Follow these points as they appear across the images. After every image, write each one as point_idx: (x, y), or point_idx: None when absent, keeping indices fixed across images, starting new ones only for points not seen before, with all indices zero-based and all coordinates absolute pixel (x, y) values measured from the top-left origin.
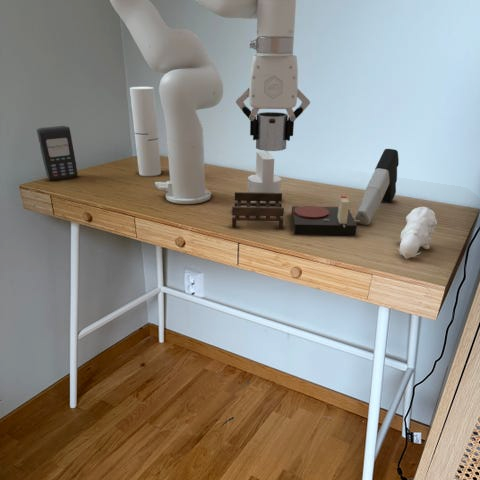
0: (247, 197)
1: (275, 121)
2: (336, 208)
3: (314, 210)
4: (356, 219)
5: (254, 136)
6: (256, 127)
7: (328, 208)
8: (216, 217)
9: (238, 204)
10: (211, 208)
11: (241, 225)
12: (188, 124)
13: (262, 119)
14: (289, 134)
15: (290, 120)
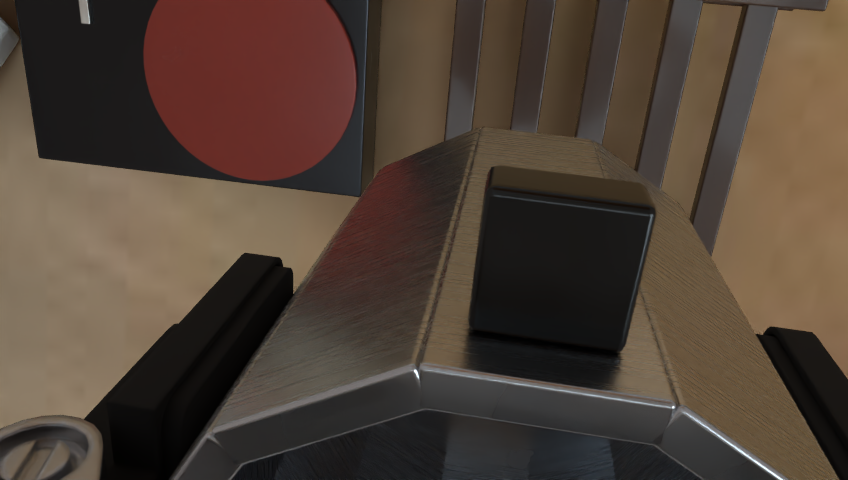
0: None
1: (457, 302)
2: (102, 136)
3: (229, 85)
4: (8, 25)
5: (803, 351)
6: (824, 447)
7: (147, 137)
8: (841, 175)
9: (711, 214)
10: (837, 329)
11: (705, 23)
12: None
13: (797, 449)
14: (225, 287)
15: (113, 473)
